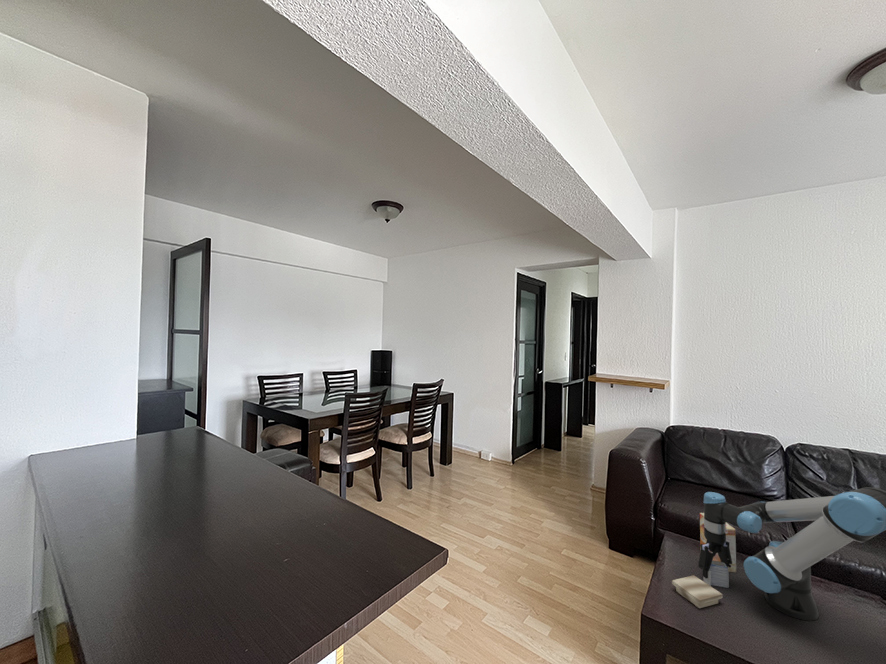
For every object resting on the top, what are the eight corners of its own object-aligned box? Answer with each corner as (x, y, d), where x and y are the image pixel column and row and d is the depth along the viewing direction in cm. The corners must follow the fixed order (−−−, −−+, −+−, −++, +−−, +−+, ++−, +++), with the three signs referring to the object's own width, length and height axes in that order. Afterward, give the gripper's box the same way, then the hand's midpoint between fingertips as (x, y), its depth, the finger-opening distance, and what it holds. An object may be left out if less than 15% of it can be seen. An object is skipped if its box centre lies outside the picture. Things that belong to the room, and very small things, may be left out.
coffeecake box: (699, 552, 176) (699, 512, 176) (715, 553, 175) (714, 513, 176) (720, 571, 161) (719, 528, 162) (737, 572, 160) (736, 529, 161)
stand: (722, 604, 141) (722, 594, 141) (699, 610, 137) (699, 600, 138) (693, 584, 152) (693, 575, 152) (672, 590, 149) (672, 580, 149)
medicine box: (724, 582, 154) (724, 561, 154) (729, 589, 150) (728, 568, 150) (703, 578, 157) (702, 558, 157) (707, 584, 152) (706, 564, 153)
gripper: (724, 522, 160) (725, 572, 160) (687, 529, 154) (688, 581, 154) (742, 530, 153) (743, 583, 153) (704, 538, 147) (705, 593, 147)
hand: (715, 582), depth 153 cm, fingers open, 9 cm apart
